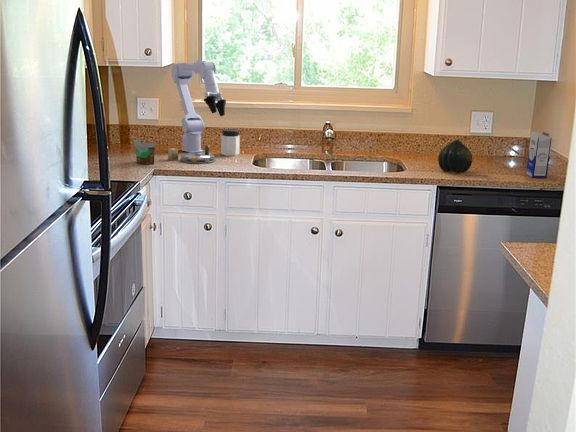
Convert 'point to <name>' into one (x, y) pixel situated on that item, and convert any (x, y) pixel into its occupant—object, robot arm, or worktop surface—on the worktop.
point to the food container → (144, 152)
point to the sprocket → (198, 156)
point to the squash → (455, 157)
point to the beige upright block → (172, 154)
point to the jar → (230, 142)
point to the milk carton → (539, 155)
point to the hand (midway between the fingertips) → (218, 114)
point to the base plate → (197, 161)
